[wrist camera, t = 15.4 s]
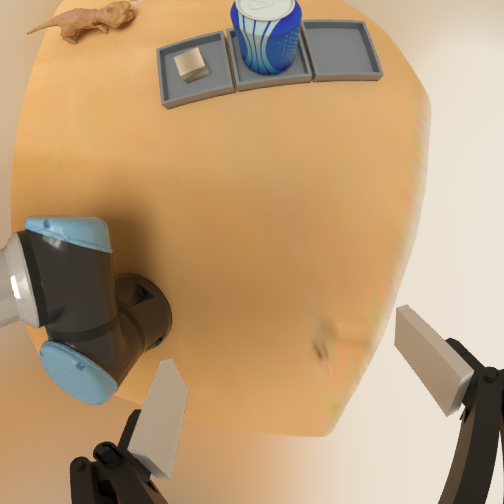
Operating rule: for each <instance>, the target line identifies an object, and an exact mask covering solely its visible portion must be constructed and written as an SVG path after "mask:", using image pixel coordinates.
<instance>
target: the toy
mask: <svg viewBox="0 0 504 504" xmlns="http://www.w3.org/2000/svg"><path fill="white" fill-rule="evenodd" d="M130 6H131V5H130V3H129V2H127V1H120V2H114V3H111V4H109V5H108V6H106V7H104V8H102V9H100V10H97V9H93V10H91V9H81V8H80V9H77V8H76V9H74V10H70V11H67V12H65V13H62V14H60V15H58V16H56V17H54V18H53V19H51V20H49V21H47V22H45V23H44V24H42V25H40V26H38V27H36V28H35V29H33V30H32V31H30V32H28V33H27V34H30V33H32V32H35V31H37V30H40V29H43V28H46V27H53V26H59V27H62V29H61V33H60V34H61V36H63V40H66V41H67V42H69V43H76V44H77V42H76V41H75V40H74V39H77V37H76V35H80V34H79V32H76V31H77V30H76V29H91V28H99V29H100V30H102V31H103V32H104V33H107V31H106V30H105V29H107V27H106V26H104V25H97V26H95V25H94V24H95V23H97V22H102V23H105V24H107V25H108V26H111V27H114V28H117V27H119V26H120V25H121V24H122V23H126V22H128V21H130V20H131V19H133V18H134V13H133V10H130V11H129V10H128V9H129V8H130Z"/></svg>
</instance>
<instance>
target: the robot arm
mask: <svg viewBox="0 0 504 504" xmlns="http://www.w3.org/2000/svg"><path fill="white" fill-rule="evenodd" d="M24 228H26V230H24V231H19V232H15V233H12V235H11V237H10V238H9V240H8V242H7V244H6V245H5V247H4V248H2V249H0V328H1V327H3V326H6V325H9V324H12V323H15V322H17V321H23V322H25V323H27V324H29V325H30V326H32V327H34V328H39V327H42V326H45V328H46V331H47V335H48V341H45V342H44V343H43V344H42V347H41V350H40V359H41V362H42V365H43V367H44V369H45V370H46V372H47V373H48V375H49V376H50V377H51V379H52V380H53V381H54V382H55V383H56V384H57V385H58V386H59V387H60V388H61V389H62V390H63V391H65V392H66V393H67V394H69V395H70V396H72V397H73V398H75V399H77V400H79V401H81V402H84V403H86V404H90V405H101V404H103V403H105V402H107V401H108V400H109V398H110V397H111V396H112V395H113V394H114V393H116V392H117V391H118V388H119V386H120V385H121V383H122V382H123V380H124V379H125V377H126V376H127V374H128V373H129V371H130V370H131V369H132V367H133V366H134V364H135V363H136V362H137V360H138V359H139V357H140V356H141V354H143V353H145V352H147V351H149V350H151V349H153V348H155V347H156V346H158V345H159V344H160V343H162V342H163V340H164V339H165V337H166V336H167V334H168V333H169V331H170V328H171V324H172V314H171V310H170V306H169V304H168V302H167V300H166V298H165V296H164V295H163V293H162V292H161V291H160V290H159V289H158V288H157V287H156V286H155V285H154V284H153V283H152V282H150V281H149V280H147V279H145V278H143V277H141V276H138V275H134V274H124V275H120V276H118V277H116V278H114V270H113V260H112V253H113V250H112V249H111V244H110V236H109V228H108V225H107V224H106V222H105V221H104V220H103V219H101V218H98V217H92V216H72V215H46V216H30V217H28V218H27V219H26V222H25V224H24ZM395 346H396V348H397V349H398V350H399V351H400V353H401V354H402V356H403V357H404V358H405V359H406V361H407V362H408V363H409V365H410V366H411V367H412V369H413V370H414V372H415V373H416V374H417V375H418V377H419V378H420V380H421V381H422V382H423V384H424V385H425V386H426V388H427V389H428V391H429V392H430V394H431V395H432V396H433V397H434V399H435V401H436V402H437V403H438V405H439V406H440V408H441V409H442V410H443V412H444V413H445V415H446V417H448V416H449V415H451V414H453V413H454V412H456V411H458V410H459V408H460V406H461V403H463V404H464V405H465V409H464V411H463V413H462V415H461V417H460V420H461V419H462V423H461V429H460V433H459V438H458V443H457V447H456V450H455V455H454V459H453V462H452V465H451V468H450V472H449V475H448V478H447V481H446V484H445V487H444V489H443V492H442V495H441V497H440V500H439V502H438V504H485V502H486V499H487V495H488V491H489V488H490V484H491V479H492V475H493V470H494V465H495V460H496V454H497V448H498V439H499V431H500V434H501V443H502V452H503V468H504V369H502V370H498V369H496V368H494V367H484V366H483V365H482V364H481V363H480V362H479V361H478V360H477V359H476V358H475V357H474V356H473V355H472V354H471V353H470V352H468V350H467V349H466V348H464V346H463V345H462V344H461V343H460V342H459V341H457V340H455V339H452V338H449V339H447V340H444V339H443V338H442V337H441V336H440V335H439V334H438V333H437V332H436V331H435V330H434V329H432V328H431V327H430V326H429V325H428V324H427V323H426V322H425V321H424V320H423V319H422V318H421V317H420V316H419V315H418V314H417V313H416V312H415V311H413V310H412V309H411V308H410V307H409V306H408V305H404V306H401V307H398V308H396V328H395ZM188 394H189V390H188V388H187V386H186V385H185V383H184V381H183V379H182V377H181V375H180V373H179V371H178V369H177V367H176V365H175V362H174V360H173V359H166V360H161V361H160V364H159V366H158V369H157V371H156V374H155V376H154V379H153V382H152V384H151V387H150V389H149V392H148V394H147V397H146V400H145V402H144V405H143V408H142V410H136V409H135V410H134V411H133V412H132V414H131V415H130V416H129V418H128V421H127V425H126V426H125V428H124V431H123V433H122V436H121V438H120V441H119V444H118V446H116V445H115V444H113V443H112V442H102V443H100V444H98V445H97V446H96V447H95V449H94V451H93V457H94V458H95V459H96V460H97V461H95V462H91V461H89V460H88V459H87V458H86V457H78V458H75V459H74V460H73V461H72V463H71V465H70V485H71V499H72V504H168V503H167V501H166V500H165V499H164V497H163V496H162V494H161V493H160V492H159V490H158V489H157V488H156V486H155V485H154V483H153V482H152V481H151V480H150V475H151V474H153V475H154V476H155V477H156V478H162V479H171V475H172V470H173V465H174V460H175V454H176V449H177V444H178V440H179V435H180V430H181V425H182V421H183V416H184V412H185V407H186V403H187V398H188ZM462 417H463V418H462ZM503 499H504V498H503ZM503 504H504V500H503Z"/></svg>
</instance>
